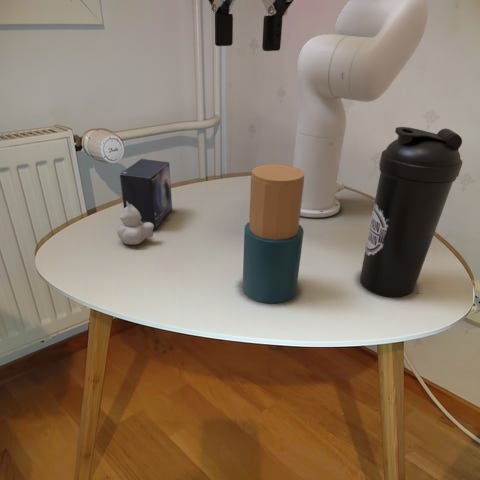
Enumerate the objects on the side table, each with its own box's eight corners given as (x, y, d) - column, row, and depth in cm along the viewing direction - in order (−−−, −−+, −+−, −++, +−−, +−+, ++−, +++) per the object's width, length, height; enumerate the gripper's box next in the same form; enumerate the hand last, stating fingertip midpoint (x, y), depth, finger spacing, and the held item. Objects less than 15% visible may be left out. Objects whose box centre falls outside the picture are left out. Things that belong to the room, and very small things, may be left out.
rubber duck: (122, 236, 79) (115, 194, 74) (157, 236, 79) (153, 195, 74) (116, 249, 74) (109, 206, 70) (153, 249, 75) (148, 206, 70)
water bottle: (349, 266, 72) (379, 120, 58) (409, 268, 71) (453, 123, 58) (361, 299, 63) (399, 138, 50) (428, 302, 63) (485, 141, 50)
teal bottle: (267, 269, 70) (274, 170, 60) (307, 289, 65) (322, 184, 56) (231, 287, 65) (232, 182, 55) (271, 310, 61) (281, 200, 51)
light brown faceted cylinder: (271, 215, 63) (275, 161, 58) (307, 229, 59) (314, 172, 55) (239, 228, 59) (241, 171, 54) (276, 244, 55) (281, 184, 51)
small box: (156, 231, 81) (151, 177, 74) (124, 228, 82) (116, 174, 75) (174, 211, 89) (170, 160, 83) (145, 208, 90) (139, 157, 84)
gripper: (326, -121, 49) (308, 51, 59) (224, -103, 59) (224, 43, 69) (285, -136, 45) (274, 54, 55) (183, -113, 54) (189, 44, 65)
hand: (246, 48), depth 62 cm, fingers open, 9 cm apart
